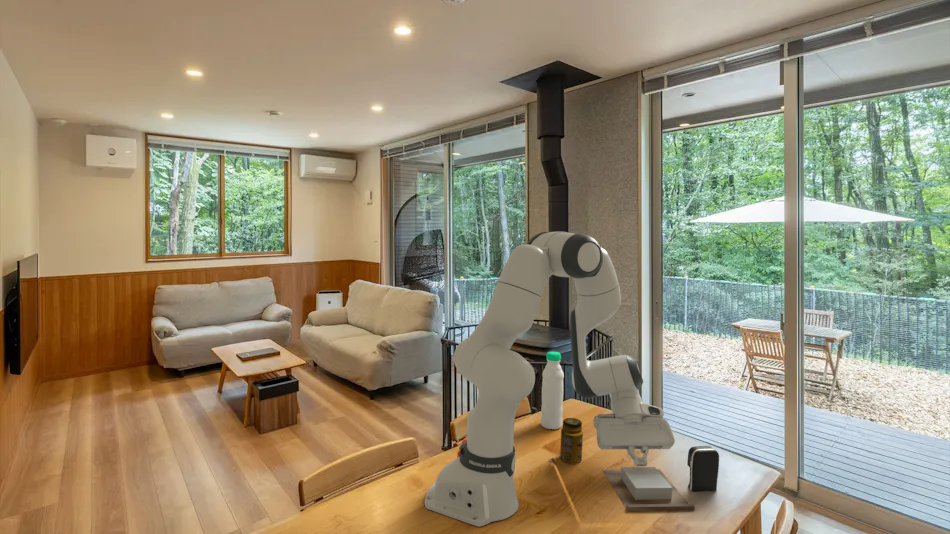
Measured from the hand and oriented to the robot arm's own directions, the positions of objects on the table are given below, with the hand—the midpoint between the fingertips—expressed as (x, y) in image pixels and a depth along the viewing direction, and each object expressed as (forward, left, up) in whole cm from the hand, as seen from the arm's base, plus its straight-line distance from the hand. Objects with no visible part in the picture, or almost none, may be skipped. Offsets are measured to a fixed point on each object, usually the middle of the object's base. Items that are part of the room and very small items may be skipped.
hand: (641, 465), depth 125 cm
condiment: (-19, +6, -6) cm, 21 cm away
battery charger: (+15, +3, -6) cm, 16 cm away
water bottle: (-27, +29, -6) cm, 40 cm away
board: (+1, -2, -5) cm, 6 cm away
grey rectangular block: (-1, +2, -3) cm, 4 cm away
